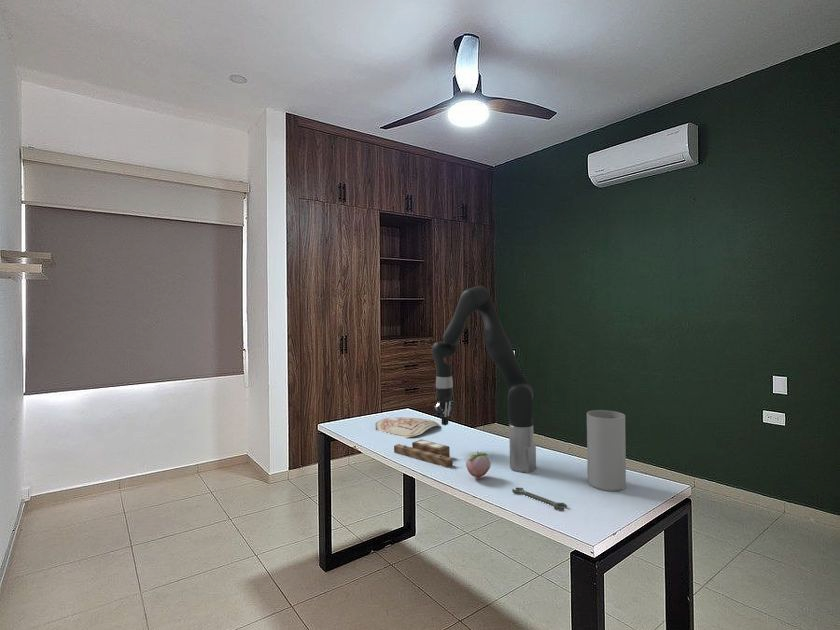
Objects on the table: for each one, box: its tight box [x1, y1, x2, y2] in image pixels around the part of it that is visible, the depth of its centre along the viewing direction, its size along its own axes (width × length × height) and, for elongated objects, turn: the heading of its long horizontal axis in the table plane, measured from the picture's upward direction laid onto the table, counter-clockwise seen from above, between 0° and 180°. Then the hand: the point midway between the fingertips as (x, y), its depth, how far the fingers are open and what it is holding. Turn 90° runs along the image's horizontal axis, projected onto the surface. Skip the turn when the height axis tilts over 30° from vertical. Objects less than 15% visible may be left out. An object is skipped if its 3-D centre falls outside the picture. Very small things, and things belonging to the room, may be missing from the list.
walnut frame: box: [411, 439, 451, 458], centre depth 193 cm, size 16×6×5 cm, turn 48°
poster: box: [375, 416, 441, 439], centre depth 237 cm, size 28×6×30 cm
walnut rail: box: [393, 443, 454, 469], centre depth 189 cm, size 30×3×4 cm, turn 49°
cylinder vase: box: [586, 409, 627, 492], centre depth 158 cm, size 12×12×25 cm
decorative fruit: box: [465, 451, 491, 479], centre depth 167 cm, size 9×8×10 cm
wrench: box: [511, 486, 568, 512], centre depth 148 cm, size 5×20×1 cm, turn 40°
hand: (445, 424), depth 201 cm, fingers closed
